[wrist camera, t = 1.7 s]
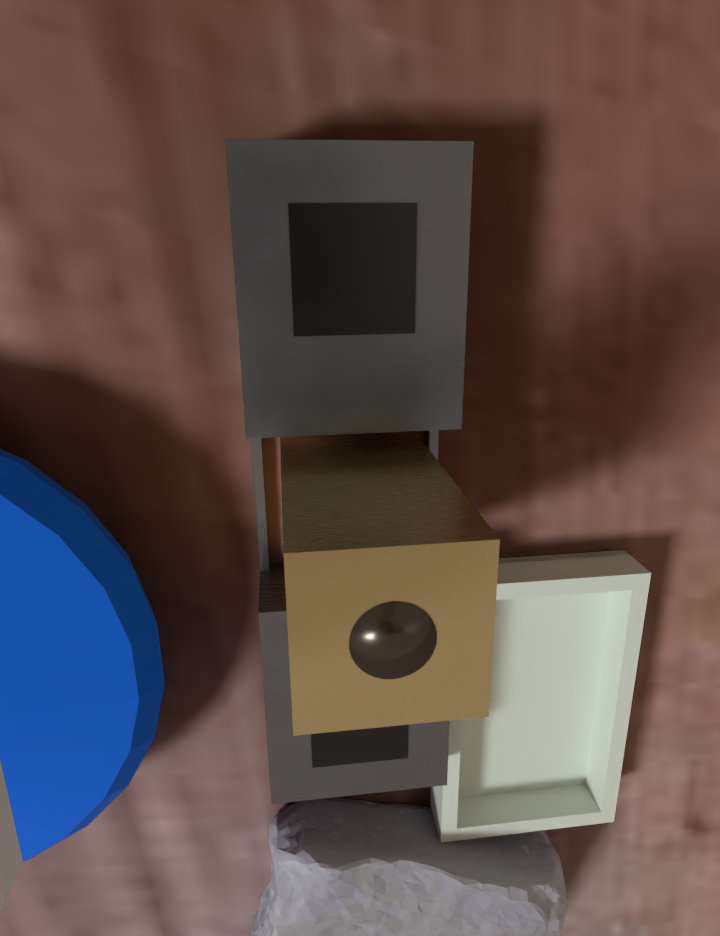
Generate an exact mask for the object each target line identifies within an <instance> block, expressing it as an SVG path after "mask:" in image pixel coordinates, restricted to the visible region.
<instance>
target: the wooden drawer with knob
mask: <svg viewBox="0 0 720 936" xmlns="http://www.w3.org/2000/svg"><path fill="white" fill-rule="evenodd" d="M280 444H281V480H282V516H283V551H284V571H285V590H286V608H287V627H288V645H289V664H290V683H291V701H292V720H293V736H297V735H307V734H317V733H327V732H337V731H348V730H358V729H368V728H378V727H389V726H399V725H409V724H419V723H429V722H440V721H450V720H460V719H470V718H481V717H488V716H489V701H490V686H491V670H492V655H493V640H494V624H495V609H496V594H497V578H498V563H499V548H500V539H499V538H498V536H497V535H496V534H495V532H494V531H493V530H492V529H491V527H490V526H489V525H488V524H487V522H486V521H485V520H484V519H483V517H482V516H481V515H480V513H479V512H478V511H477V510H476V508H475V507H474V506H473V505H472V503H471V502H470V501H469V500H468V498H467V497H466V496H465V494H464V493H463V492H462V491H461V489H460V488H459V487H458V486H457V484H456V483H455V482H454V481H453V479H452V478H451V477H450V475H449V474H448V473H447V472H446V470H445V469H444V468H443V467H442V465H441V464H440V463H439V462H438V460H437V459H436V458H435V456H434V455H433V454H432V453H431V451H430V450H429V449H428V448H427V446H426V445H425V444H424V443H423V441H422V440H421V439H420V438H419V436H418V435H417V434H416V432H415V431H408V432H385V433H362V434H339V435H316V436H293V437H280Z"/></svg>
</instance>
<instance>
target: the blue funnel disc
mask: <svg viewBox="0 0 720 936" xmlns="http://www.w3.org/2000/svg"><path fill="white" fill-rule="evenodd" d="M164 686H165V680H164V672H163V664H162V657H161V649H160V641H159V633H158V626H157V622H156V619H155V616H154V612H153V609H152V607H151V604H150V602H149V600H148V598H147V596H146V593H145V591H144V589H143V587H142V585H141V582H140V580H139V578H138V576H137V574H136V571H135V569H134V567H133V565H132V563H131V560H130V558H129V556H128V554H127V553H126V552H125V550H124V549H123V548H122V547H121V546H120V544H119V543H118V542H117V541H116V540H115V538H114V537H113V536H112V535H111V534H110V532H109V531H108V530H107V529H106V528H105V526H104V525H103V524H102V523H101V522H100V520H99V519H98V518H97V517H96V516H95V514H94V513H93V512H92V511H91V510H90V508H89V507H88V506H87V505H86V504H85V503H84V502H83V501H81V500H80V499H79V498H77V497H76V496H74V495H73V494H72V493H70V492H69V491H68V490H66V489H65V488H64V487H62V486H61V485H60V484H58V483H57V482H55V481H54V480H53V479H51V478H50V477H49V476H47V475H46V474H45V473H43V472H42V471H40V470H39V469H38V468H36V467H35V466H34V465H32V464H31V463H30V462H28V461H27V460H24V459H22V458H20V457H18V456H15V455H13V454H11V453H8V452H6V451H4V450H1V449H0V762H1V766H2V770H3V775H4V779H5V784H6V788H7V793H8V797H9V801H10V806H11V810H12V815H13V819H14V824H15V828H16V832H17V837H18V841H19V846H20V850H21V855H22V859H23V861H22V862H24V861H26V860H28V859H30V858H32V857H34V856H36V855H38V854H40V853H41V852H43V851H45V850H47V849H48V848H50V847H52V846H53V845H55V844H57V843H59V842H60V841H62V840H64V839H65V838H67V837H69V836H71V835H72V834H74V833H76V832H77V831H79V830H81V829H83V828H84V827H86V826H88V825H89V824H90V823H91V822H92V821H93V820H94V819H95V818H96V817H97V816H98V815H99V814H100V813H101V812H102V811H103V810H104V809H105V808H106V807H107V806H108V805H109V804H110V803H111V802H112V801H113V800H114V799H115V798H116V797H117V796H118V795H119V794H120V793H121V792H122V791H123V790H124V789H125V788H126V787H127V786H128V785H129V783H130V781H131V779H132V778H133V776H134V774H135V772H136V770H137V769H138V767H139V765H140V763H141V761H142V759H143V758H144V756H145V754H146V752H147V750H148V749H149V747H150V745H151V743H152V741H153V740H154V738H155V733H156V727H157V722H158V717H159V712H160V707H161V701H162V696H163V691H164Z"/></svg>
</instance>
